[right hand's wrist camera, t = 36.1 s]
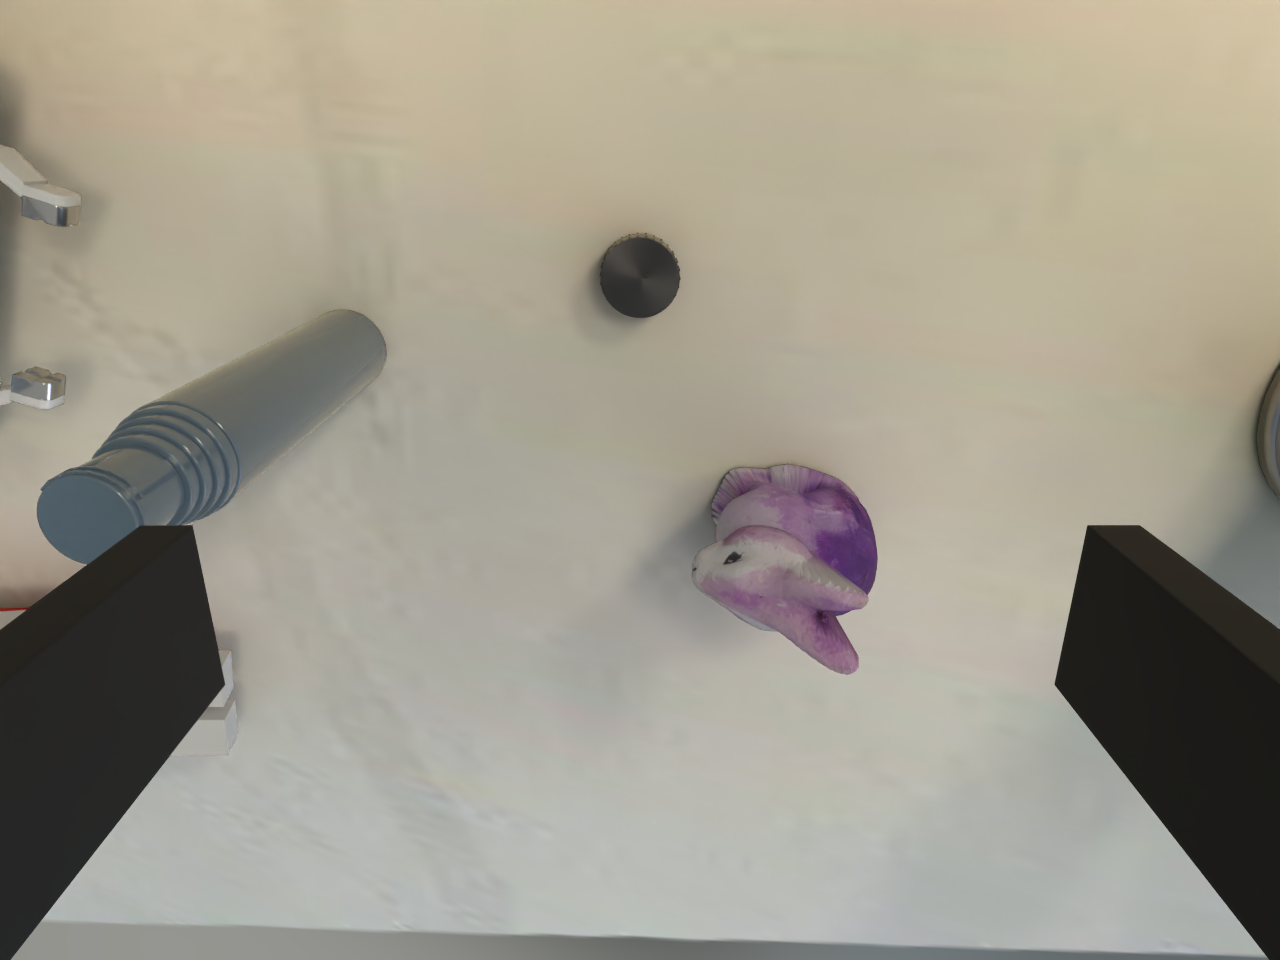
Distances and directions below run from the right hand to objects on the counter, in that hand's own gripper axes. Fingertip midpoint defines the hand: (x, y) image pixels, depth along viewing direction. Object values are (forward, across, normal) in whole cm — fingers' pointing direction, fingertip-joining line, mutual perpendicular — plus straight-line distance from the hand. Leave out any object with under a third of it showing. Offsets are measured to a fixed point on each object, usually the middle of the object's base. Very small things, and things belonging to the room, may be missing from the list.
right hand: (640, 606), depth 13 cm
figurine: (+38, -9, +15) cm, 42 cm away
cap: (+36, 0, 0) cm, 36 cm away
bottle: (+38, +17, +4) cm, 42 cm away
